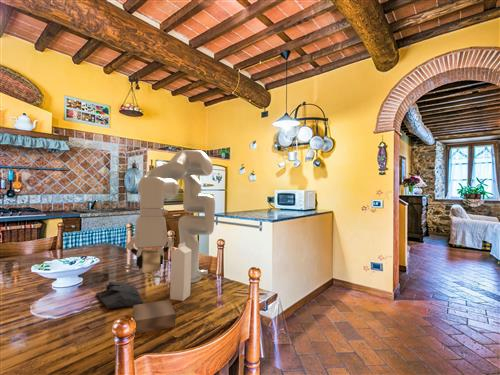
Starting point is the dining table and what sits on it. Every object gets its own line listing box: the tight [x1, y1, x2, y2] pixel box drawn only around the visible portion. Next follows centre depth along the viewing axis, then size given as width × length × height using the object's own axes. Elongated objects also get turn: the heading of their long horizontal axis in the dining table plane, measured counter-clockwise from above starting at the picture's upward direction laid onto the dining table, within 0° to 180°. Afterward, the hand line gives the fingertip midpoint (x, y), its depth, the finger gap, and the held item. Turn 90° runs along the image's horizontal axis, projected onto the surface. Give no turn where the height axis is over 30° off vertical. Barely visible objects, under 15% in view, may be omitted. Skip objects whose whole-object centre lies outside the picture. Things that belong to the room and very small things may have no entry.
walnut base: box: [132, 299, 177, 335], centre depth 85 cm, size 12×12×4 cm
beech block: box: [140, 249, 161, 274], centre depth 86 cm, size 5×5×6 cm
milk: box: [169, 242, 192, 302], centre depth 106 cm, size 6×6×22 cm
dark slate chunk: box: [96, 281, 144, 310], centre depth 103 cm, size 15×22×5 cm
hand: (149, 266), depth 87 cm, fingers closed on beech block, 5 cm apart
